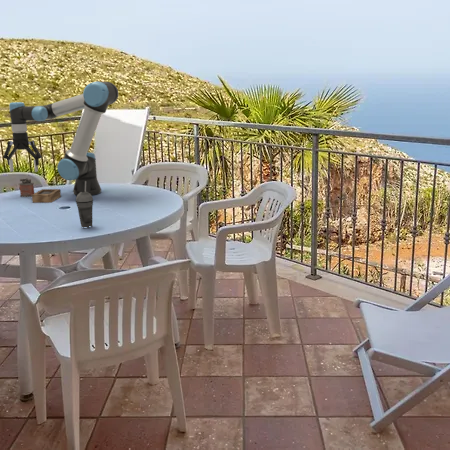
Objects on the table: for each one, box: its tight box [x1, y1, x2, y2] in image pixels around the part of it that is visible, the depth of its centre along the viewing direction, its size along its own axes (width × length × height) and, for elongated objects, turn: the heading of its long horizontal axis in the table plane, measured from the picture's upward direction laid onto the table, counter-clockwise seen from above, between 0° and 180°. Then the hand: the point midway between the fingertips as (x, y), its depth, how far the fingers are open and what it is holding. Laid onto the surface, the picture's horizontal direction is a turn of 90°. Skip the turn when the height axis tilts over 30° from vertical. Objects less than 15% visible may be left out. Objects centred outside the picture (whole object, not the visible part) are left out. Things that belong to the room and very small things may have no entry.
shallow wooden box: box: [31, 188, 62, 204], centre depth 271 cm, size 10×14×4 cm
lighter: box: [18, 178, 35, 198], centre depth 279 cm, size 8×3×10 cm, turn 84°
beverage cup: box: [75, 181, 94, 228], centre depth 217 cm, size 7×7×20 cm
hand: (24, 171), depth 277 cm, fingers open, 13 cm apart
